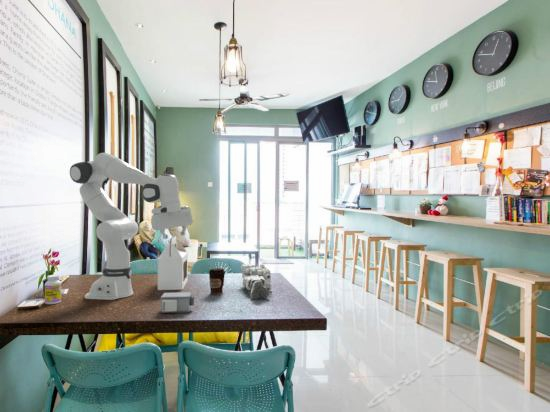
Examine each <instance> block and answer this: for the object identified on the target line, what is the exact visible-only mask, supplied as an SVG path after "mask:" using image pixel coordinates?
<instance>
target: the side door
mask: <svg viewBox="0 0 550 412" xmlns="http://www.w3.org/2000/svg"><path fill="white" fill-rule="evenodd" d="M165 311H177V299H170V300H162V312H165Z"/></svg>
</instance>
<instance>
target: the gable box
mask: <svg viewBox="0 0 550 412" xmlns="http://www.w3.org/2000/svg"><path fill="white" fill-rule="evenodd" d="M167 242H168V244H167V245H166V246H165V247H164V249H162V252H161V253H160V254H159V256H158V257H157V291H177V290H178V291H180V290H184V288H185V286H186V284H187V283H188V279H189V278H188V275H189V272H188V270H189V268H188V266H189V265H188V264H189V260H188V259H189V257H188V256H189V255H188V254H189V252H188V251H187V250H186V248H185V247H184V246H183V244H182V242H180V241H179V240H177V235H174V236H172V237H171V238H169V239H168V240H167Z"/></svg>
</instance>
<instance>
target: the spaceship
mask: <svg viewBox="0 0 550 412" xmlns="http://www.w3.org/2000/svg"><path fill="white" fill-rule="evenodd" d="M240 269H241V272H242V273H241V277H242V286H243V288H244V289H247V291H250V298H251V299H252V300H258V299H260V297H262V298H268V296H269V295H270V291H272V289H273V288H272V286H273V285H272V284H271V283H272V281H271V280H272V274H271V270H270V269H268V268H267V267H266V266H265V264H264V263H263V264H260V265H259V264H253V263H248V264H247V263H243V264H241V266H240Z"/></svg>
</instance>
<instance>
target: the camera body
mask: <svg viewBox="0 0 550 412" xmlns="http://www.w3.org/2000/svg"><path fill="white" fill-rule="evenodd" d="M170 299H177V311H165V312H162V300H170ZM192 306H195V296H194V295H193V296H192V291H190V292H186V291H185V292H183V291H182V292H164V293H163V294H162V295H161V296H160V312H159V313H160V314H171V313H172V314H175V313H177V314H178V313H190V311H191V309H192Z"/></svg>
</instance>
